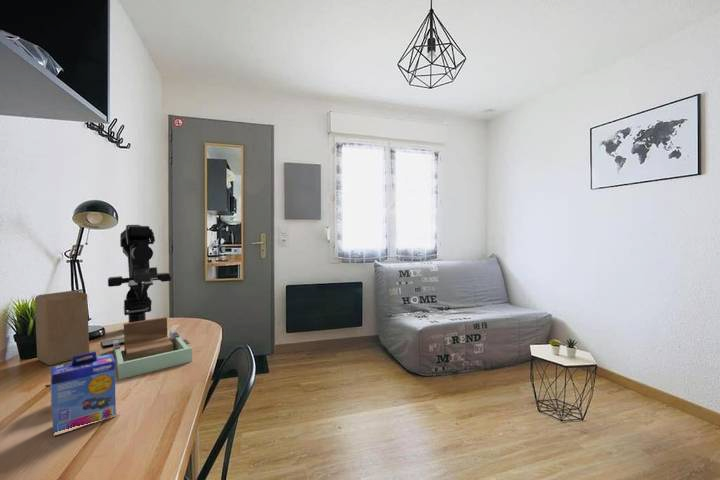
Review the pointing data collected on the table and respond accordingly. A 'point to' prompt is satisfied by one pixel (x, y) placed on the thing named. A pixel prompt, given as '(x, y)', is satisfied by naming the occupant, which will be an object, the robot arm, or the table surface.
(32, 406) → the table surface
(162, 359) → the pale green tray
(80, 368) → the ink cartridge box
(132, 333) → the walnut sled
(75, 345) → the wooden block
